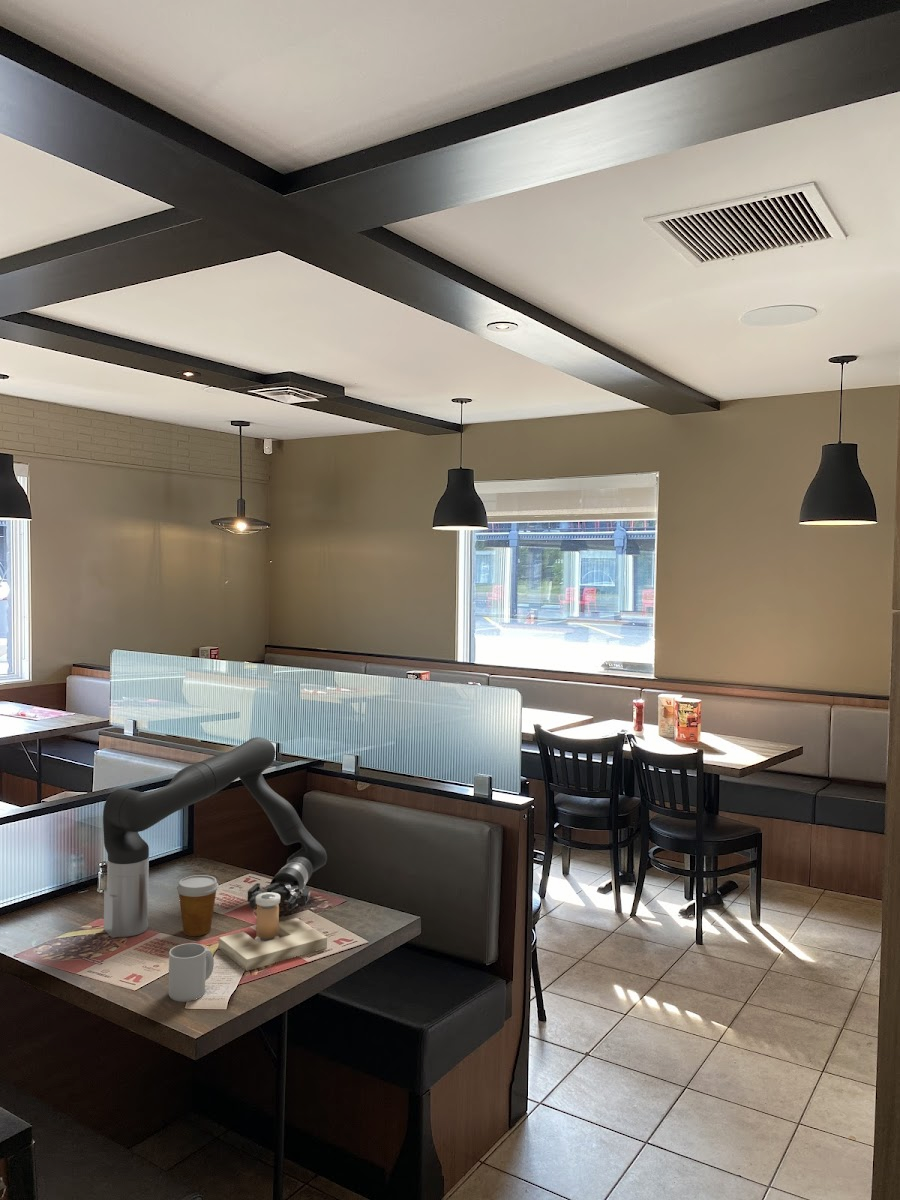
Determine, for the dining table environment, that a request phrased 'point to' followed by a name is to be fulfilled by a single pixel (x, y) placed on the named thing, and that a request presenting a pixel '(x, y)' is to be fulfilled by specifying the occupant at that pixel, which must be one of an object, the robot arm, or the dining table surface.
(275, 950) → the notched board
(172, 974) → the cup
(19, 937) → the dining table surface
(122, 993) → the dining table surface
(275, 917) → the bobbin
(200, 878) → the disposable coffee cup
